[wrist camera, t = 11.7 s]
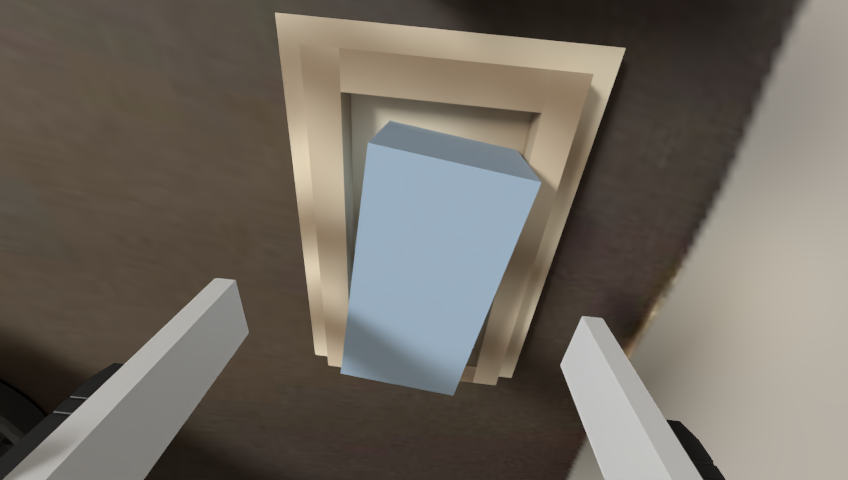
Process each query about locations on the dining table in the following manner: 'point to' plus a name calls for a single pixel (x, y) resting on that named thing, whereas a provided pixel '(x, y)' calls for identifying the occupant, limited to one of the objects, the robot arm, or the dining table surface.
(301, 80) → the slot holder
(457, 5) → the dining table surface
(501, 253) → the blue block
